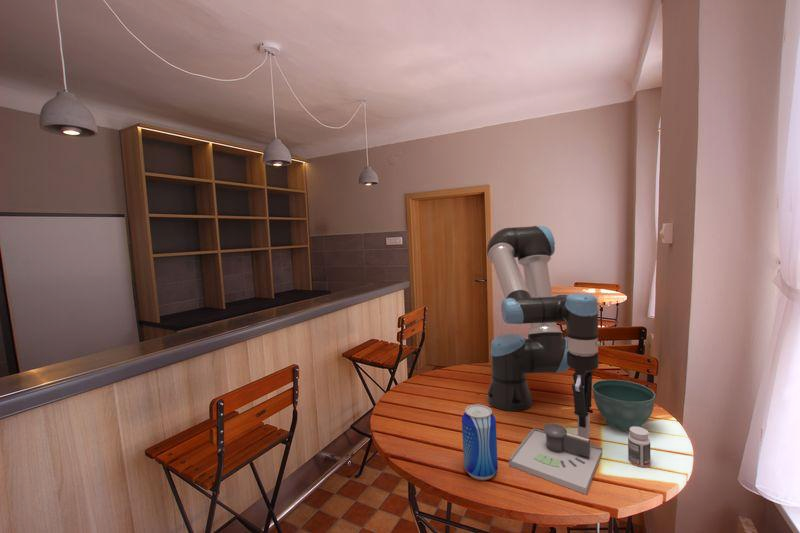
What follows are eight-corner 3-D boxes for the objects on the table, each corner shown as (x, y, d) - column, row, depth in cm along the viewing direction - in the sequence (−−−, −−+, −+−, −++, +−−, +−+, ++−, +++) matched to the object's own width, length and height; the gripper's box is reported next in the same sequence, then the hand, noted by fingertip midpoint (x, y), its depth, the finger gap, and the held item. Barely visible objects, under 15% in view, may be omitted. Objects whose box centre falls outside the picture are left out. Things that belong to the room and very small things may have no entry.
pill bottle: (647, 457, 92) (647, 426, 91) (653, 469, 88) (653, 436, 87) (625, 454, 94) (625, 424, 93) (631, 466, 89) (630, 434, 89)
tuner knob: (540, 448, 95) (540, 430, 95) (547, 438, 100) (547, 421, 100) (587, 463, 88) (586, 444, 88) (592, 452, 93) (591, 433, 92)
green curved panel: (532, 459, 91) (532, 459, 91) (543, 443, 98) (543, 442, 98) (581, 476, 84) (581, 475, 84) (589, 457, 91) (589, 456, 91)
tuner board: (509, 465, 92) (508, 458, 92) (533, 433, 106) (533, 427, 106) (586, 494, 80) (585, 486, 80) (602, 454, 94) (601, 447, 94)
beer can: (460, 462, 94) (457, 404, 93) (491, 459, 95) (489, 401, 94) (469, 484, 86) (466, 420, 85) (503, 480, 87) (500, 417, 85)
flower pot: (581, 421, 111) (580, 387, 110) (611, 406, 119) (611, 375, 118) (636, 445, 97) (636, 407, 96) (666, 427, 105) (666, 392, 104)
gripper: (592, 361, 88) (594, 452, 90) (602, 347, 98) (604, 429, 100) (560, 356, 93) (562, 443, 94) (573, 343, 103) (575, 422, 104)
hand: (583, 436), depth 97 cm, fingers closed
